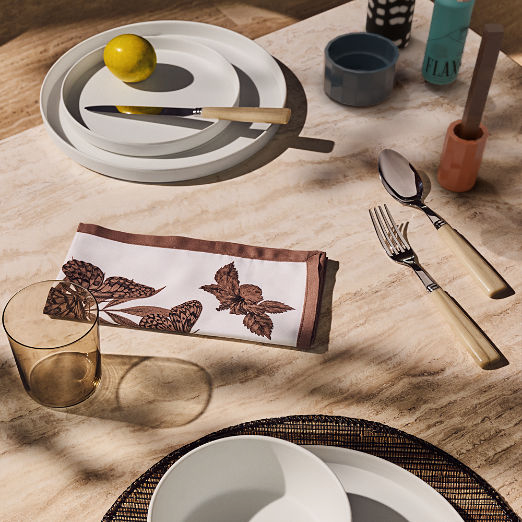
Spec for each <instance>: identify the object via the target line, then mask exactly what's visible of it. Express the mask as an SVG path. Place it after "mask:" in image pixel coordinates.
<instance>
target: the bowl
mask: <svg viewBox="0 0 522 522" xmlns="http://www.w3.org/2000/svg"><path fill="white" fill-rule="evenodd" d="M400 55H401V54H400V50H398V47H397V46H396V45H395V44H394V43H393V42H392V41H391V40H390V39H387V38H385V37H383V36H381V35H378V34H373V33H367V32H365V31H354V32H353V31H352V32H347V33H344V34H339V35H336V36H335V37H334V38H331V40H329V41H328V42H327V43H326V45H325V47H324V50H323V65H322V66H323V68H322V87H323V91H324V92H325V93H326V94H327V96H328V97H329V98H331V99H332V100H334V101H336V102H339V103H340V104H344V105H348V106H353V107H370V106H373V105H377V104H381V103H383V102H385V101H386V100H387V99H388V98H390V97H391V96H392V95H393V93H394V91H395V88H396V83H397V78H398V77H397V76H398V69H399V62H400Z"/></svg>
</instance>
